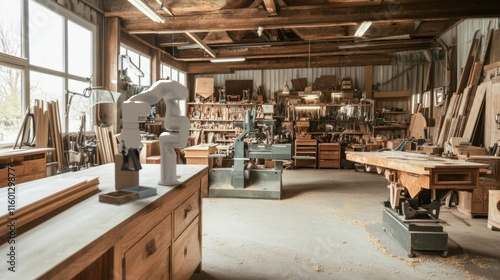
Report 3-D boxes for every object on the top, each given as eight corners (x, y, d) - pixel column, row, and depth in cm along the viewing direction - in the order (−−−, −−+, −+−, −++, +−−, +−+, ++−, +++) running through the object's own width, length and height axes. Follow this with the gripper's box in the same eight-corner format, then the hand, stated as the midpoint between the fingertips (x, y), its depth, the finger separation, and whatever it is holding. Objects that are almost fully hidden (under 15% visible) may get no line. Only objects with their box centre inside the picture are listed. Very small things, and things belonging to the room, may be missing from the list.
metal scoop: (119, 192, 170) (119, 188, 170) (125, 193, 168) (125, 189, 168) (100, 197, 159) (100, 193, 159) (106, 198, 157) (106, 194, 157)
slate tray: (139, 191, 173) (139, 185, 173) (156, 193, 167) (156, 187, 167) (120, 195, 162) (120, 189, 162) (138, 198, 156) (138, 192, 156)
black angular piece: (142, 169, 163) (142, 145, 162) (138, 171, 157) (138, 146, 156) (124, 168, 163) (124, 145, 162) (120, 170, 157) (119, 146, 156)
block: (139, 187, 182) (139, 152, 181) (131, 191, 172) (131, 154, 171) (123, 186, 183) (122, 152, 182) (114, 190, 173) (113, 154, 172)
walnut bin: (119, 195, 161) (119, 190, 161) (138, 198, 156) (137, 192, 156) (98, 201, 150) (98, 194, 150) (117, 204, 145) (117, 197, 144)
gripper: (138, 125, 167) (139, 159, 169) (110, 126, 152) (111, 163, 153) (149, 126, 164) (149, 160, 165) (122, 127, 148) (123, 164, 150)
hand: (131, 161), depth 159 cm, fingers closed on black angular piece, 6 cm apart
